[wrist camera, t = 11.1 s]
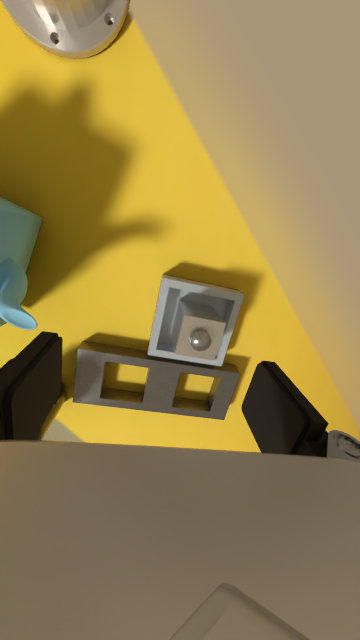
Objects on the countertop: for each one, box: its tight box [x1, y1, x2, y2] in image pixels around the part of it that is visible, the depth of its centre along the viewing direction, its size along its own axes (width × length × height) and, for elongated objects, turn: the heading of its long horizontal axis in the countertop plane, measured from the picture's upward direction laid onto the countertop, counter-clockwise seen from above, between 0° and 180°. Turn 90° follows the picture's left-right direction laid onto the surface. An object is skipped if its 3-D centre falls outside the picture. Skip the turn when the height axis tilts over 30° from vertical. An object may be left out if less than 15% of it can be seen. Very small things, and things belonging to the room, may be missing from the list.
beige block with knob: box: [171, 299, 226, 361], centre depth 30 cm, size 5×5×8 cm
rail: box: [73, 341, 240, 420], centre depth 36 cm, size 24×9×2 cm, turn 77°
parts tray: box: [148, 274, 244, 366], centre depth 33 cm, size 11×11×3 cm
